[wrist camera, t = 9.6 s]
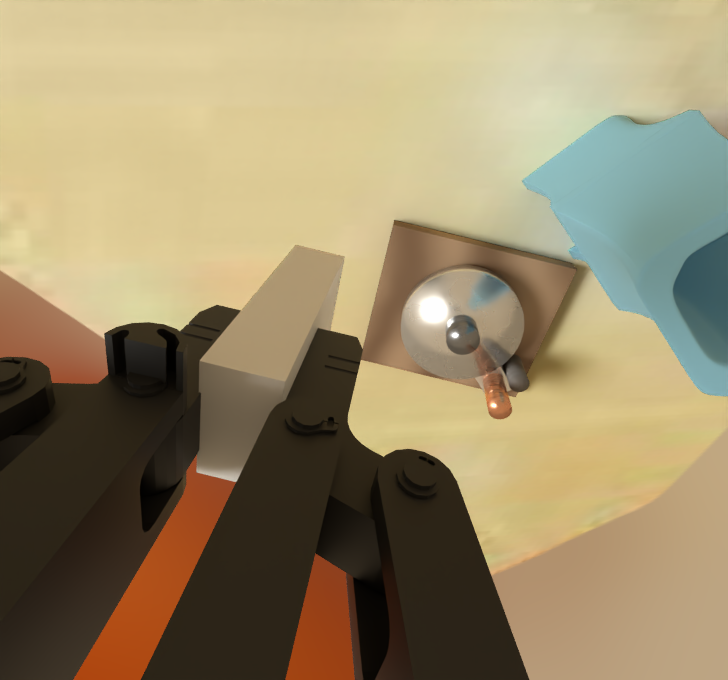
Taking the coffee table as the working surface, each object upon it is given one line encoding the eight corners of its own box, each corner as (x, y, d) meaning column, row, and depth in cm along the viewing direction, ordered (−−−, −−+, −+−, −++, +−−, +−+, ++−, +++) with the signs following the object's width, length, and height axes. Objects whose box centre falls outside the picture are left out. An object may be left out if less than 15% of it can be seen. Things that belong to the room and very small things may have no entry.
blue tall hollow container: (672, 196, 33) (941, 309, 16) (573, 258, 36) (708, 410, 19) (623, 105, 31) (877, 122, 14) (521, 180, 34) (622, 272, 17)
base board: (362, 351, 43) (355, 380, 39) (394, 220, 37) (390, 237, 32) (512, 388, 43) (522, 421, 39) (571, 263, 37) (591, 286, 32)
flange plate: (379, 301, 38) (373, 331, 33) (488, 242, 35) (498, 266, 30) (449, 405, 42) (452, 444, 38) (551, 361, 39) (569, 399, 34)
